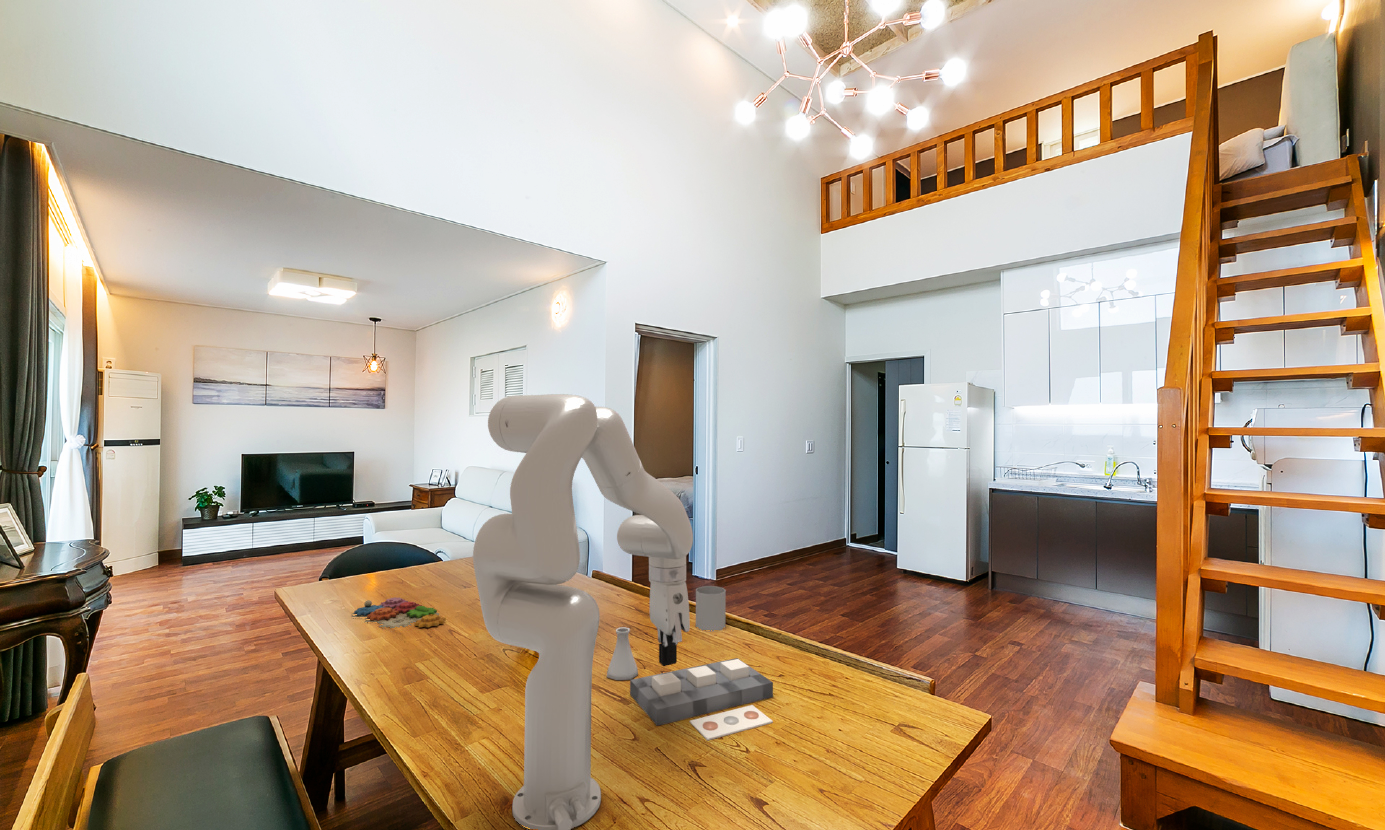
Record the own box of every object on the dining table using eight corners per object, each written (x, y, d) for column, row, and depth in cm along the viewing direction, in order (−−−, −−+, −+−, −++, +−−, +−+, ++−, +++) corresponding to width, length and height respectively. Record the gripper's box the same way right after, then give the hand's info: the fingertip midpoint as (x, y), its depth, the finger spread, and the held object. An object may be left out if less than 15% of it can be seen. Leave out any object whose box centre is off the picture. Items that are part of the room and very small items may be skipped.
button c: (680, 699, 114) (680, 681, 114) (660, 704, 112) (660, 685, 112) (671, 690, 118) (671, 672, 118) (651, 694, 116) (651, 676, 116)
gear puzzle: (461, 622, 164) (461, 607, 164) (407, 639, 150) (407, 623, 151) (398, 603, 181) (399, 590, 181) (345, 617, 167) (345, 603, 167)
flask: (633, 683, 125) (633, 636, 125) (601, 679, 126) (601, 634, 126) (642, 669, 132) (642, 625, 132) (612, 666, 133) (612, 623, 133)
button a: (748, 683, 122) (748, 666, 122) (730, 687, 120) (731, 670, 120) (737, 675, 125) (738, 658, 126) (720, 679, 123) (720, 662, 124)
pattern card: (772, 722, 108) (772, 720, 108) (707, 740, 102) (707, 737, 102) (752, 706, 114) (752, 704, 114) (689, 722, 108) (689, 719, 108)
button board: (772, 697, 118) (772, 682, 119) (657, 726, 107) (657, 709, 107) (737, 671, 131) (737, 658, 131) (630, 694, 119) (630, 679, 119)
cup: (690, 623, 163) (691, 588, 163) (716, 619, 166) (716, 584, 167) (703, 633, 155) (704, 595, 156) (730, 628, 159) (730, 592, 159)
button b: (715, 691, 118) (715, 673, 118) (696, 695, 116) (696, 677, 116) (705, 682, 122) (705, 665, 122) (687, 686, 120) (687, 669, 120)
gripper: (701, 579, 111) (701, 674, 111) (669, 562, 124) (669, 646, 124) (665, 584, 108) (666, 683, 108) (636, 566, 121) (636, 653, 121)
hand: (667, 663), depth 116 cm, fingers closed
